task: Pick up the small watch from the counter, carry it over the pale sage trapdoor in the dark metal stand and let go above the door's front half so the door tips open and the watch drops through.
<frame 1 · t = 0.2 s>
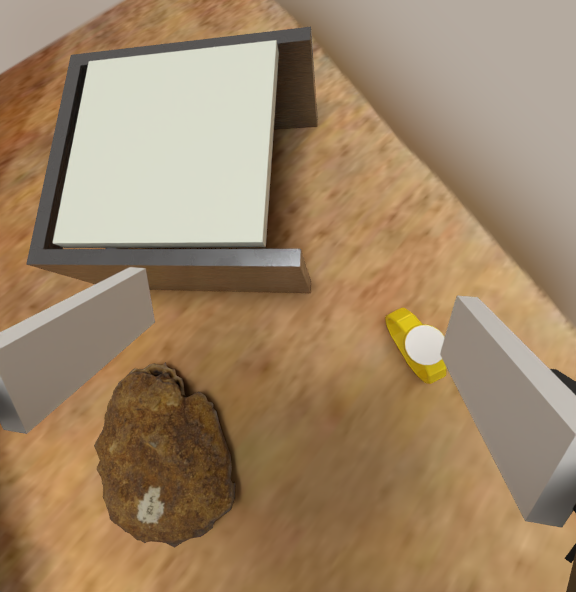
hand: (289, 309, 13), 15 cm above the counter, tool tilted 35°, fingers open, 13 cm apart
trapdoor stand: (214, 202, 32), on the counter
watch: (405, 345, 27), on the counter
trapdoor: (168, 145, 23), point 9 cm above the counter, hinge at 0.0°
decorative rock: (171, 442, 28), on the counter
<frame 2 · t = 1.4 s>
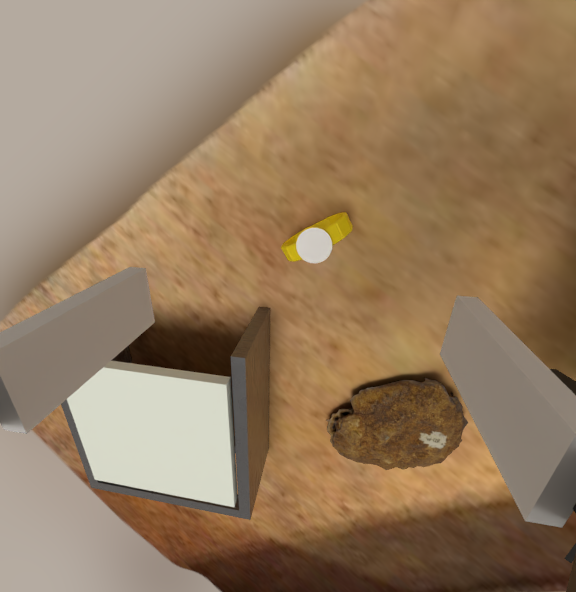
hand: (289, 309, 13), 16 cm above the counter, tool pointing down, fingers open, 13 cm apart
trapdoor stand: (194, 375, 37), on the counter
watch: (318, 229, 28), on the counter
trapdoor: (153, 435, 29), point 9 cm above the counter, hinge at 0.0°
decorative rock: (390, 414, 36), on the counter
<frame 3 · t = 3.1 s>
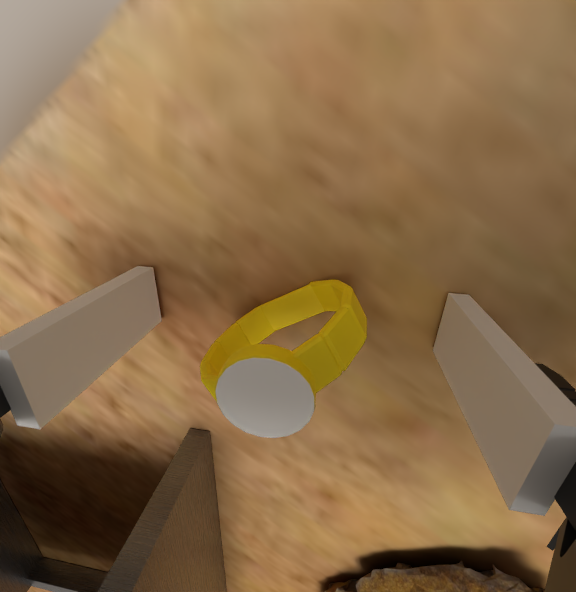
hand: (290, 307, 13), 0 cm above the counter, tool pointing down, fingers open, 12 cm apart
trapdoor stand: (101, 512, 23), on the counter
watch: (293, 304, 14), on the counter
decorative rock: (423, 588, 21), on the counter
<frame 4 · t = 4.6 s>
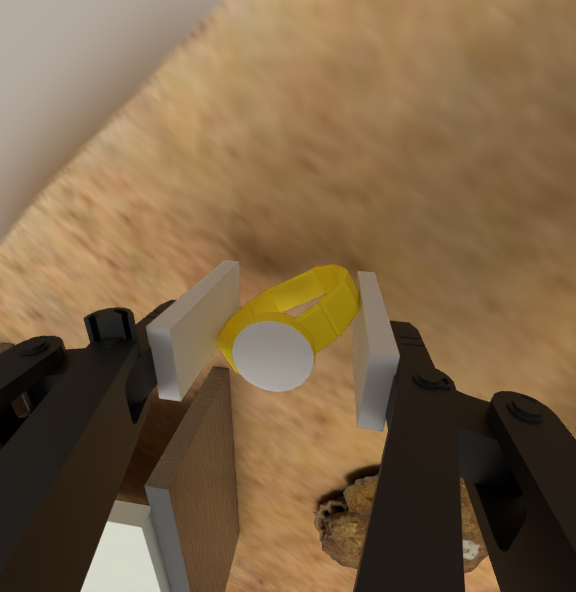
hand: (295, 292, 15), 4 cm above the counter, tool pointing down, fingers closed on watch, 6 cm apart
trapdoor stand: (134, 449, 28), on the counter
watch: (297, 288, 15), point 3 cm above the counter, touching gripper
trapdoor: (51, 570, 20), point 9 cm above the counter, hinge at 0.0°
decorative rock: (398, 501, 27), on the counter
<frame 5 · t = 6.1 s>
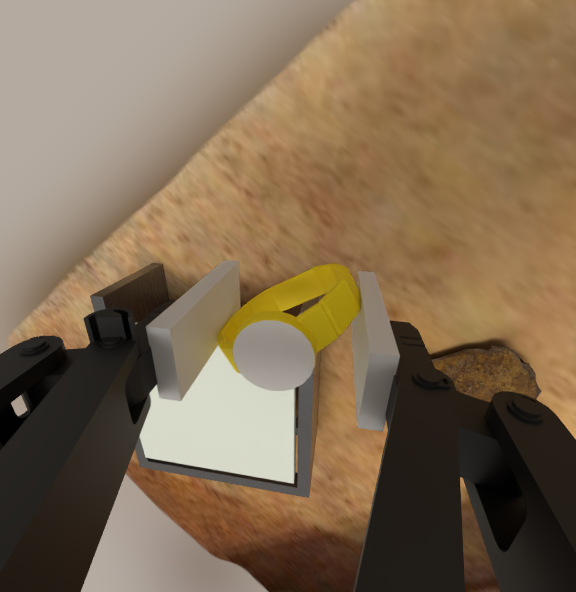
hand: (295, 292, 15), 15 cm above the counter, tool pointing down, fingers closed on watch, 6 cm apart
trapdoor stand: (241, 351, 36), on the counter
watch: (297, 288, 15), point 15 cm above the counter, touching gripper
trapdoor: (209, 406, 28), point 9 cm above the counter, hinge at 0.0°
decorative rock: (450, 389, 34), on the counter
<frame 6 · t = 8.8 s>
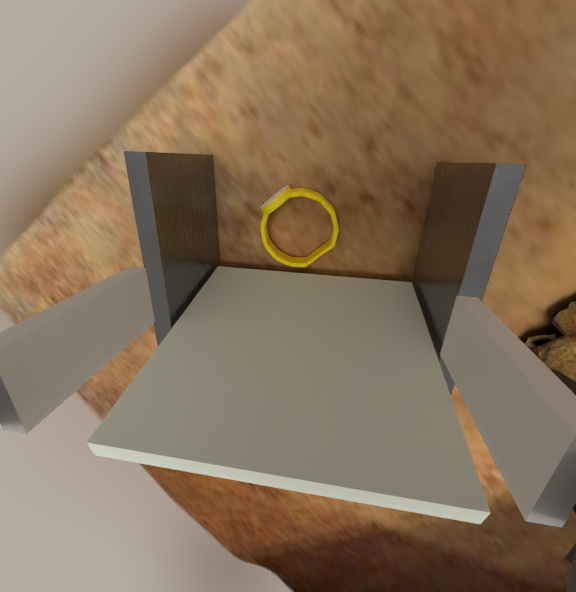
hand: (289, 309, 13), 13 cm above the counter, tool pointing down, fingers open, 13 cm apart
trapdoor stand: (310, 288, 27), on the counter
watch: (321, 256, 25), point 1 cm above the counter, touching trapdoor
trapdoor: (297, 344, 19), point 9 cm above the counter, hinge at 80.4°, touching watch
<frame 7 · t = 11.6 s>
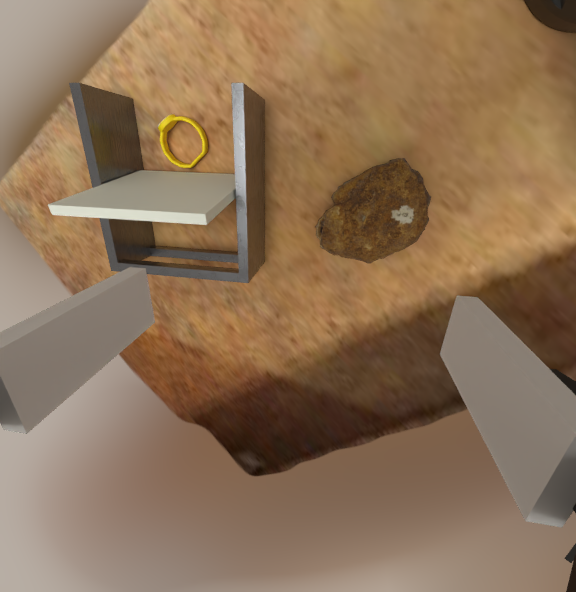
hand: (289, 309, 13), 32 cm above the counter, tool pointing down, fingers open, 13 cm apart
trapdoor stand: (199, 185, 43), on the counter
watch: (200, 161, 41), point 1 cm above the counter, touching trapdoor
trapdoor: (166, 191, 35), point 9 cm above the counter, hinge at 80.4°, touching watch
decorative rock: (369, 216, 42), on the counter
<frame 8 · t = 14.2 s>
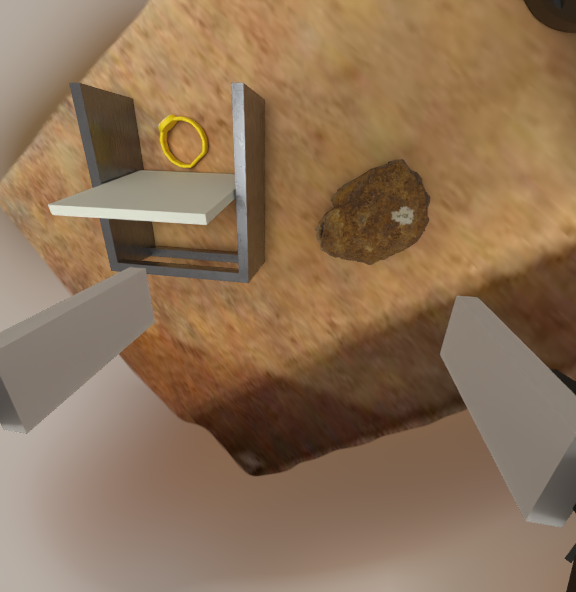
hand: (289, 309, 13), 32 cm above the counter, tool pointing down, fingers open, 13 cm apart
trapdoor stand: (199, 185, 43), on the counter
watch: (200, 161, 41), point 1 cm above the counter, touching trapdoor
trapdoor: (166, 191, 35), point 9 cm above the counter, hinge at 80.4°, touching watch
decorative rock: (369, 218, 42), on the counter
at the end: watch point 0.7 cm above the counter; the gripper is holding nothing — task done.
